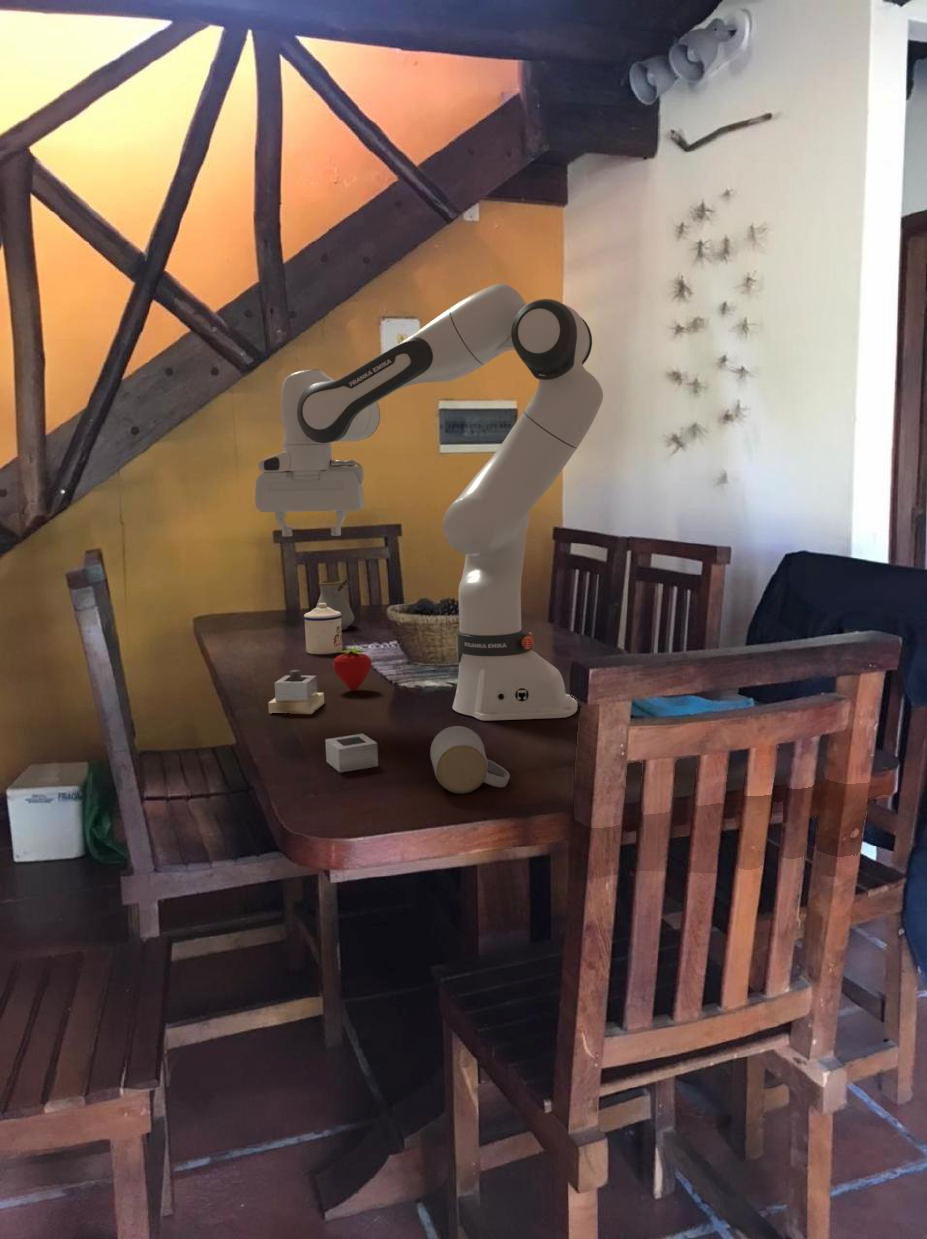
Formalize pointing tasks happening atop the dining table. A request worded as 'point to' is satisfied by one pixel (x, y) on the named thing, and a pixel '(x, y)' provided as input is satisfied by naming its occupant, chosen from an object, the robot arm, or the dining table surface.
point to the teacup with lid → (323, 630)
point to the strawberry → (352, 667)
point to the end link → (295, 689)
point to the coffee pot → (336, 600)
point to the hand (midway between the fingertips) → (311, 535)
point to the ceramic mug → (464, 761)
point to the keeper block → (296, 706)
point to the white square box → (351, 752)
